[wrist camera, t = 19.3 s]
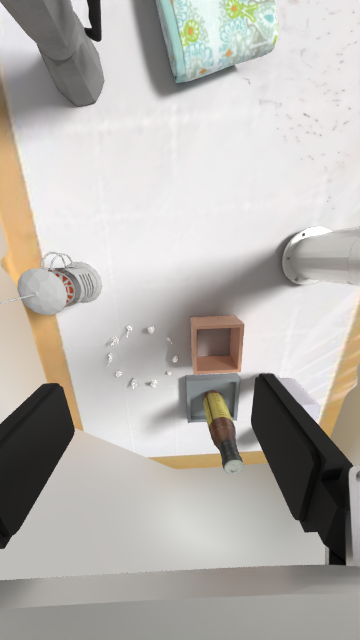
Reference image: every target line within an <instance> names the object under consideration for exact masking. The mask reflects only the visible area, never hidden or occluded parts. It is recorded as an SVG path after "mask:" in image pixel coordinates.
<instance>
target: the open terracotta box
mask: <svg viewBox="0 0 360 640" xmlns="http://www.w3.org/2000/svg"><path fill="white" fill-rule="evenodd" d="M218 328H231V339H230V355H226V356H204V357H197V329H218ZM243 335H244V323H243V322H242V321H241V320H239V319H238V318H237V317H236V316H235V315H226V316H202V317H191V360H192V366H193V373H194V374H211V373H233V372H241V361H242V348H243Z"/></svg>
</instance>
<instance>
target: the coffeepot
mask: <svg viewBox="0 0 360 640" xmlns="http://www.w3.org/2000/svg"><path fill="white" fill-rule="evenodd" d="M0 2H1V3H2V5H3V6H4V7H5V8H6V9H7V11H8V12H9V13H10V14H11V15H12V17H13V18H14V19H15V20H16V21H17V23H18V24H19V25H20V26H21V28H22V29H23V30H24V31H25V32H26V34H27V35H28V36H29V37H30V38H32V39H33V40H34V41H35V42H36V43H37V46H38V48H39V51H40V53H41V55H42V57H43V60H44V62H45V64H46V66H47V68H48V70H49V72H50V74H51V76H52V78H53V80H54V82H55V84H56V86H57V88H58V90H59V91H60V92H61V93H62V94H63V95H64V96H65V97H66V98H67V99H68V100H70V101H71V102H73V103H74V104H75V105H76V106H85V105H89V104H92V103H93V102H96V100H97V98H98V97H99V95H100V93H101V90H102V86H103V83H104V76H103V71H102V67H101V63H100V58H99V54H98V52H97V50H96V48H95V47H94V45H93V43H92V41H91V39H92V40H94V41H97V42H99V41H101V8H100V0H87V3H88V7H89V20H90V23H91V26H92V28H84V27H83V25H82V23H81V22H80V20H79V18H78V16H77V15H76V13H75V12H74V11H73V9H72V5H71V1H70V0H0Z"/></svg>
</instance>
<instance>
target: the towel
mask: <svg viewBox="0 0 360 640" xmlns="http://www.w3.org/2000/svg"><path fill="white" fill-rule="evenodd" d="M155 2H156V6H157V11H158V15H159V19H160V24H161V28H162V33H163V37H164V41H165V45H166V49H167V53H168V58H169V62H170V66H171V69H172V73H173V77H174V80H175V83H181V82H186V81H191V80H194V79H197V78H200V77H203V76H206V75H208V74H211V73H214V72H216V71H219V70H222V69H225V68H227V67H229V66H232V65H235V64H238V63H241V62H245V61H248V60H251V59H255V58H258V57H261V56H263V55H266V54H268V53H270V52H271V51H272V50H273V49H274V47H275V45H276V41H277V36H278V19H277V17H276V5H277V0H155Z"/></svg>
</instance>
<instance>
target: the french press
mask: <svg viewBox="0 0 360 640" xmlns="http://www.w3.org/2000/svg"><path fill="white" fill-rule="evenodd" d="M49 254H57V255H56V256H55V257H54V259H53V260H52V262H51V267H50V268H42V265H43V261H44V259H45V258H46V256H48V255H49ZM61 255H66V254H64V253H60V254H58V253H56V252H49V253H47V254H46V255H45V256H44V257H43V259H42V261H41V265H40V267H41V269H30V270H28V271H26V272H24V273H23V274H22V275H21V277H20V278H19V280H18V292H19V295H20V298H16V299H12V300H7V301H4V302H0V304H2V303H6V302H10V301H14V300H18V299H21V300H22V301H23V302H24V304H25V305H26V306H27V307H28V308H30V309H31V310H32V311H34V312H36V313H39V314H42V315H54V314H56V313H58V312H60V311H61V310H62V309H63V307H66V306H71V305H73V304H76V303H78V302H81V303H85V302H91V301H93V300H95V299H96V298H97V297H98V296H99V294H100V293H101V288H102V283H101V278H100V276H99V275H98V273H97V271H96V270H95V269H94V268H92V267H91V266H90V265H88V264H85V263H82V262H72V260H71V258H70V257H69V256H68V255H66V256H67V257H68V258H69V259H70V261H71V264H69V265H67V266H66V264H65V262H64V259H63V258H62V256H61ZM58 256H60V257H61V258H62V260H63V263H64V266H65V268H53V269H52V265H53V262H54V260H55V259H56V257H58ZM44 269H49V270H48V271H47V270H44ZM60 270H61V271H60Z"/></svg>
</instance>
